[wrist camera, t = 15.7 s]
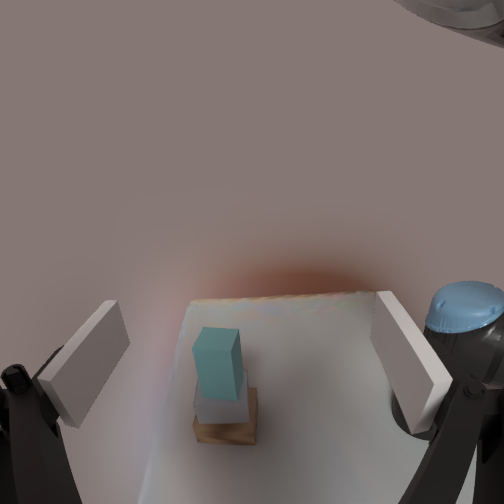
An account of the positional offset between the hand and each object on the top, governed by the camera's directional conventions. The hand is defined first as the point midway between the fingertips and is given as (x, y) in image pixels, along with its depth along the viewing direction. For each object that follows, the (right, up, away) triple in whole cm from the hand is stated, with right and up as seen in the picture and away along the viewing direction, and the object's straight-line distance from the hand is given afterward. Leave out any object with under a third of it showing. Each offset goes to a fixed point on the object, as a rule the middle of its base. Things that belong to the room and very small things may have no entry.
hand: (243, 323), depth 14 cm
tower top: (-4, -20, +28) cm, 35 cm away
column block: (-4, -16, +26) cm, 31 cm away
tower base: (-3, -25, +29) cm, 39 cm away
